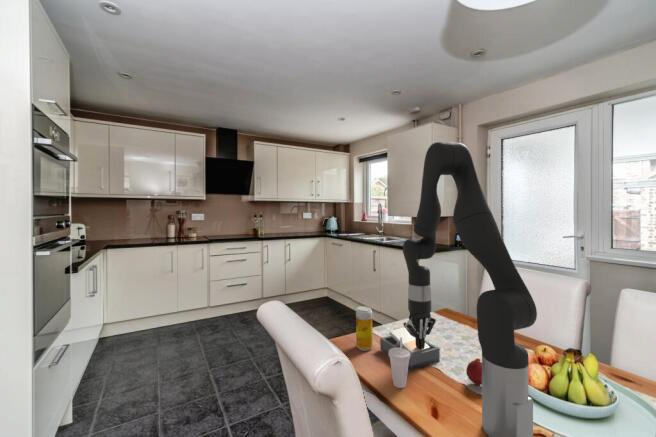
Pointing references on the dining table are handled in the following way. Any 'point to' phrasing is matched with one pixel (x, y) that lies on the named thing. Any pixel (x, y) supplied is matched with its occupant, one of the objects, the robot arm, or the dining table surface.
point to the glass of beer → (364, 328)
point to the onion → (475, 371)
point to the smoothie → (399, 365)
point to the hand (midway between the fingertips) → (420, 348)
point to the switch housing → (415, 359)
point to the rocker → (407, 340)
